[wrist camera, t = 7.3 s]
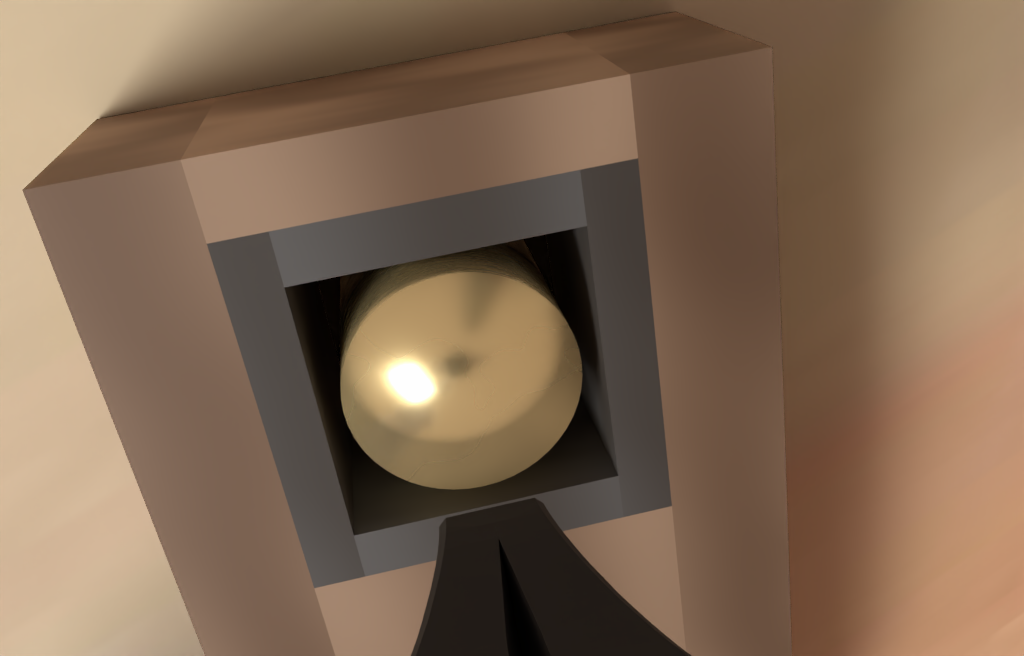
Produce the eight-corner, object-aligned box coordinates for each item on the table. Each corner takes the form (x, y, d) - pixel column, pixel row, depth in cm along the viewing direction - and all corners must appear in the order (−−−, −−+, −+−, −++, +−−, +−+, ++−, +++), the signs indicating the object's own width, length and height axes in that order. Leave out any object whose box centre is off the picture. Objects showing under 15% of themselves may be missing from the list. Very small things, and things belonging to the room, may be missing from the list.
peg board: (346, 842, 29) (347, 1018, 24) (96, 119, 19) (22, 190, 15) (730, 745, 30) (800, 897, 25) (675, 11, 20) (772, 46, 16)
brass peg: (364, 390, 23) (370, 511, 18) (319, 214, 21) (314, 302, 16) (545, 351, 23) (594, 461, 18) (518, 174, 21) (566, 250, 17)
